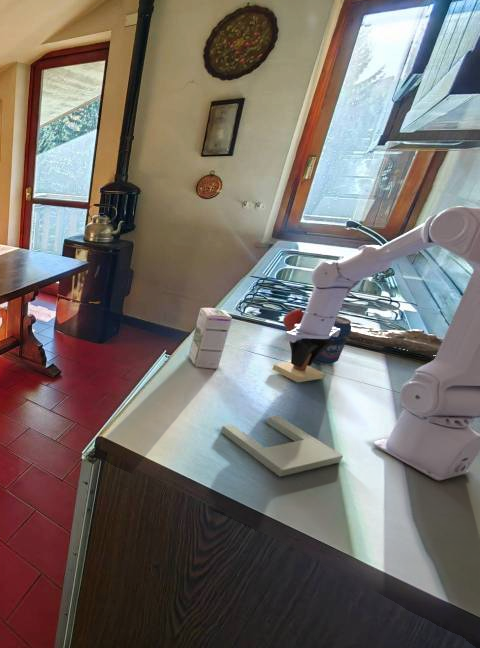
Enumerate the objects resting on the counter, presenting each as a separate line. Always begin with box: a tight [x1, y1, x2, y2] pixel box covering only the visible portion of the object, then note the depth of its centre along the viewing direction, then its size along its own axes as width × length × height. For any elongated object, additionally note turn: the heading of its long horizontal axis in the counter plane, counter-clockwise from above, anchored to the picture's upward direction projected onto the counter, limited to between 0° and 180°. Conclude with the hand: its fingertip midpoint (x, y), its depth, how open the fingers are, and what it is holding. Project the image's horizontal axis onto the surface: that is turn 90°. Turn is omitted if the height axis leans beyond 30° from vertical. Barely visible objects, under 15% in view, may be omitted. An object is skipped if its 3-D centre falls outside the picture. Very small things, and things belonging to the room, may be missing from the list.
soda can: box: [313, 315, 352, 366], centre depth 103 cm, size 7×7×12 cm
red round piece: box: [282, 307, 305, 332], centre depth 120 cm, size 6×6×8 cm
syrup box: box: [187, 307, 233, 370], centre depth 100 cm, size 6×6×14 cm
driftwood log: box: [347, 323, 444, 359], centre depth 115 cm, size 35×5×10 cm
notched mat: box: [220, 415, 344, 478], centre depth 72 cm, size 12×14×2 cm
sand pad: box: [272, 353, 325, 383], centre depth 96 cm, size 6×8×6 cm
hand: (300, 364), depth 96 cm, fingers closed on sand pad, 2 cm apart
